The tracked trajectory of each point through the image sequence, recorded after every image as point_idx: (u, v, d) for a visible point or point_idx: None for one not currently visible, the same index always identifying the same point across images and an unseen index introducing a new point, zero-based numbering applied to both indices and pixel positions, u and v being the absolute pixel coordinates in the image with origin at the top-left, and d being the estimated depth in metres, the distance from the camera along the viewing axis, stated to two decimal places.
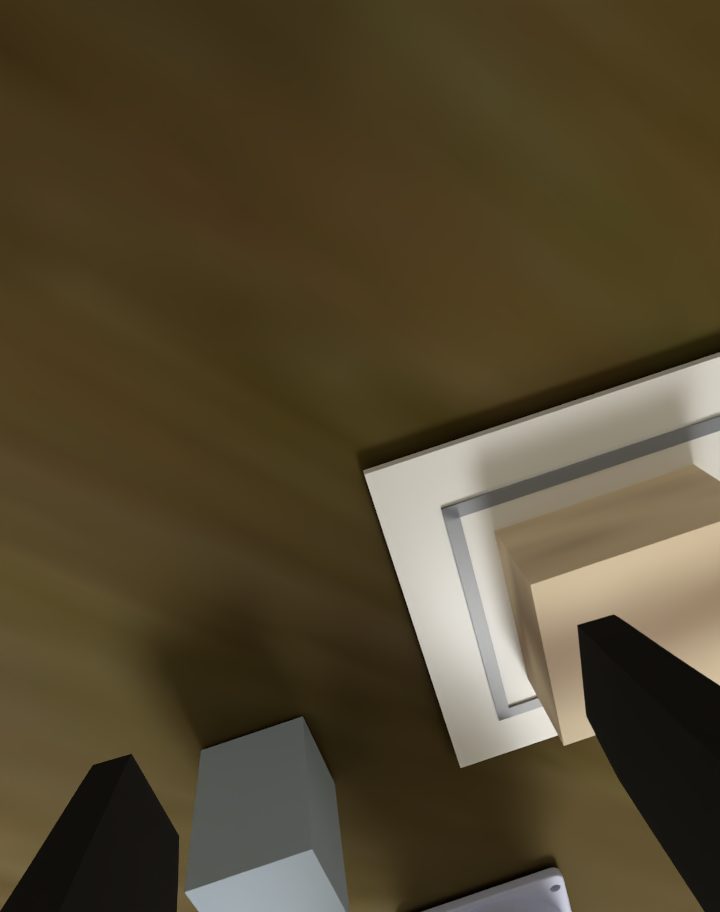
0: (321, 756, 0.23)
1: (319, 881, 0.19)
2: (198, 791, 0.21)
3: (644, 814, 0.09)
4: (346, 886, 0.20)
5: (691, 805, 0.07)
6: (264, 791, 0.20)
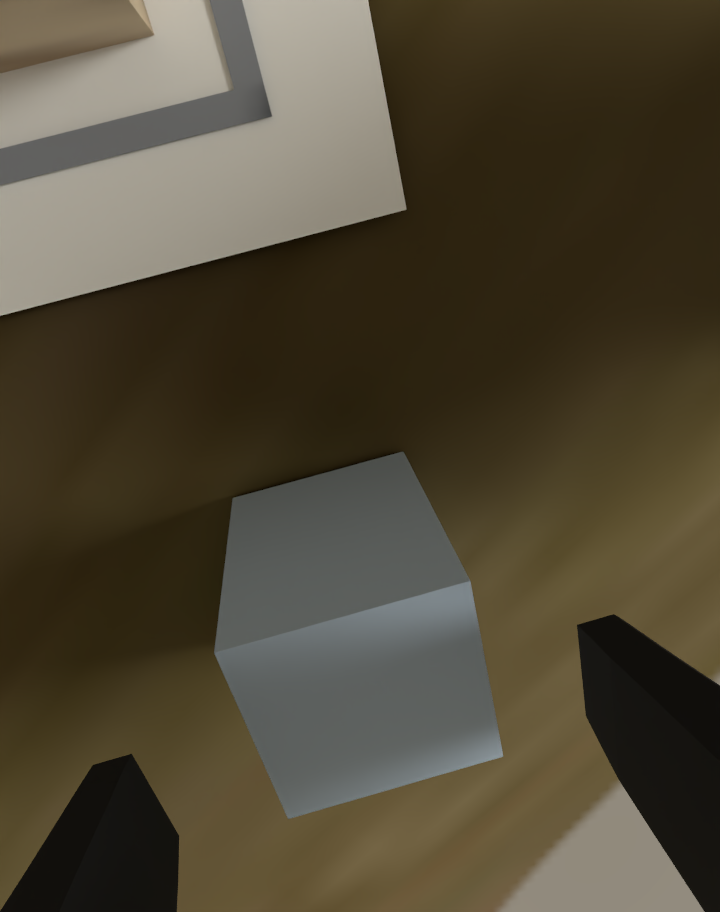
0: (331, 471, 0.14)
1: (320, 638, 0.09)
2: None
3: (644, 813, 0.09)
4: (448, 545, 0.10)
5: (691, 805, 0.07)
6: None
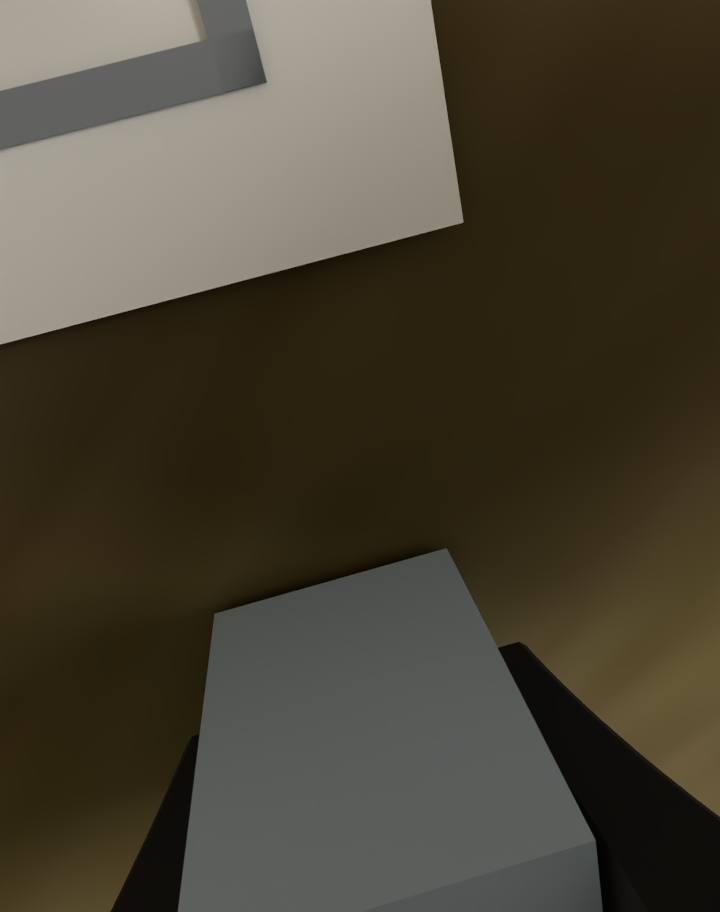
0: (349, 576, 0.10)
1: None
2: None
3: None
4: (542, 748, 0.06)
5: None
6: None
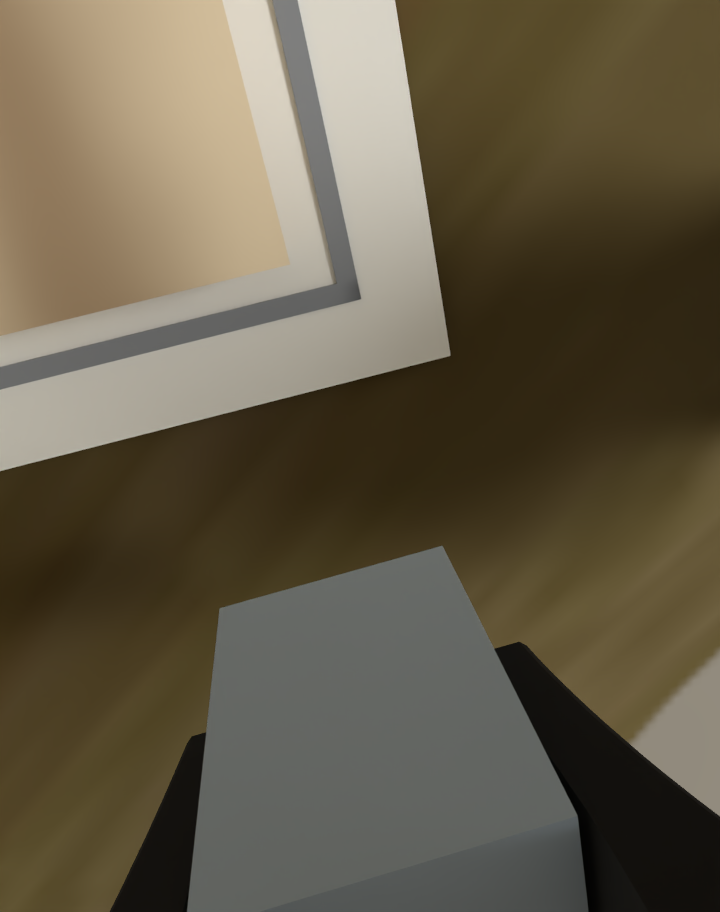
0: (348, 572, 0.10)
1: (347, 903, 0.06)
2: None
3: None
4: (530, 732, 0.07)
5: None
6: None
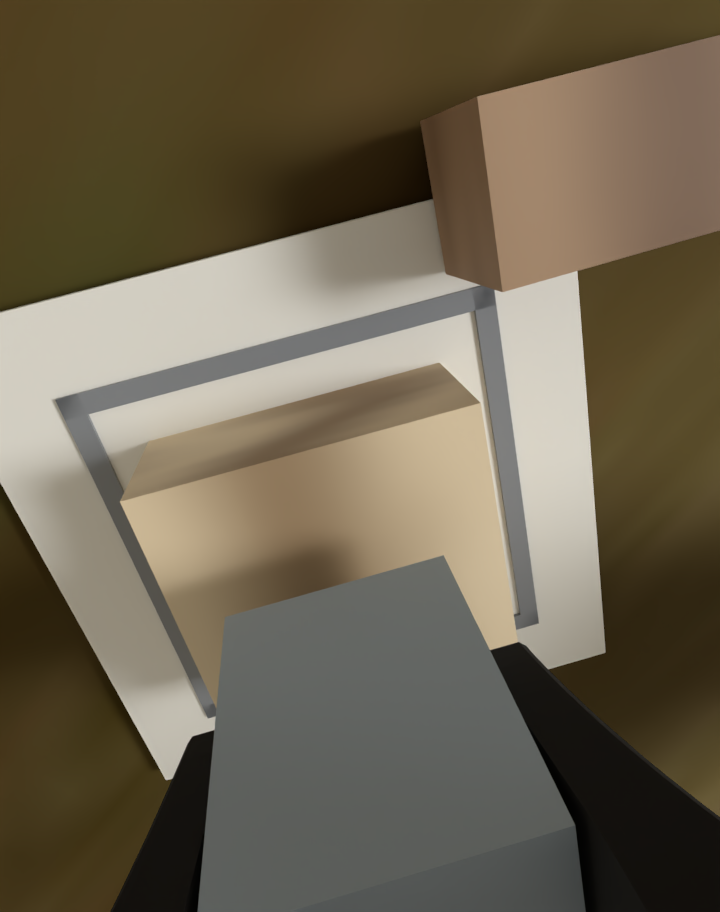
0: (351, 581, 0.11)
1: (353, 910, 0.06)
2: None
3: None
4: (529, 742, 0.07)
5: None
6: None
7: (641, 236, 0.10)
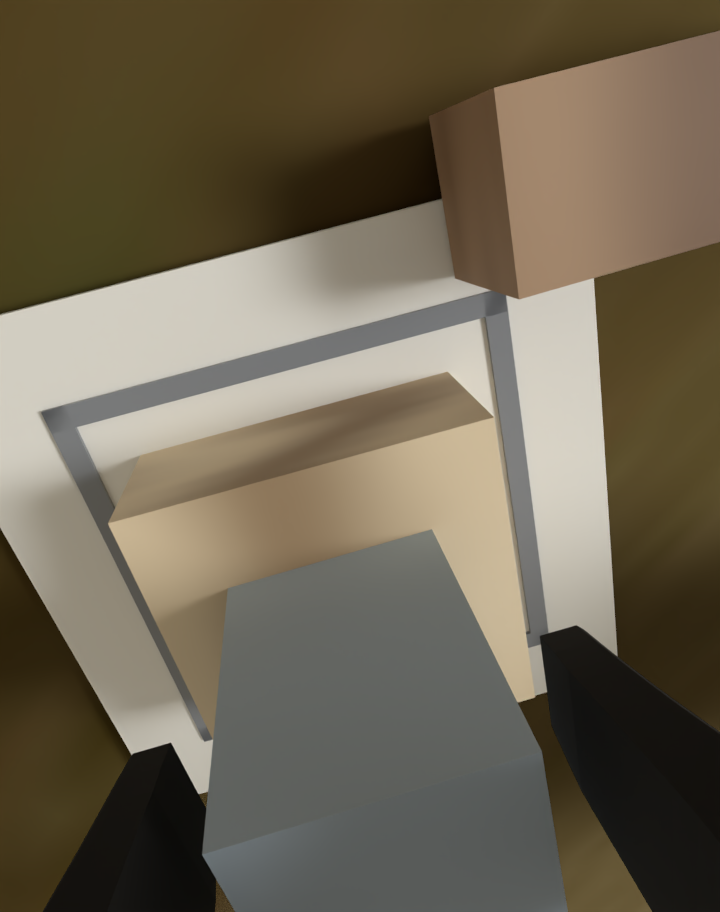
0: (346, 554, 0.11)
1: (343, 829, 0.07)
2: None
3: (606, 826, 0.09)
4: (504, 685, 0.08)
5: (644, 819, 0.07)
6: None
7: (668, 239, 0.10)
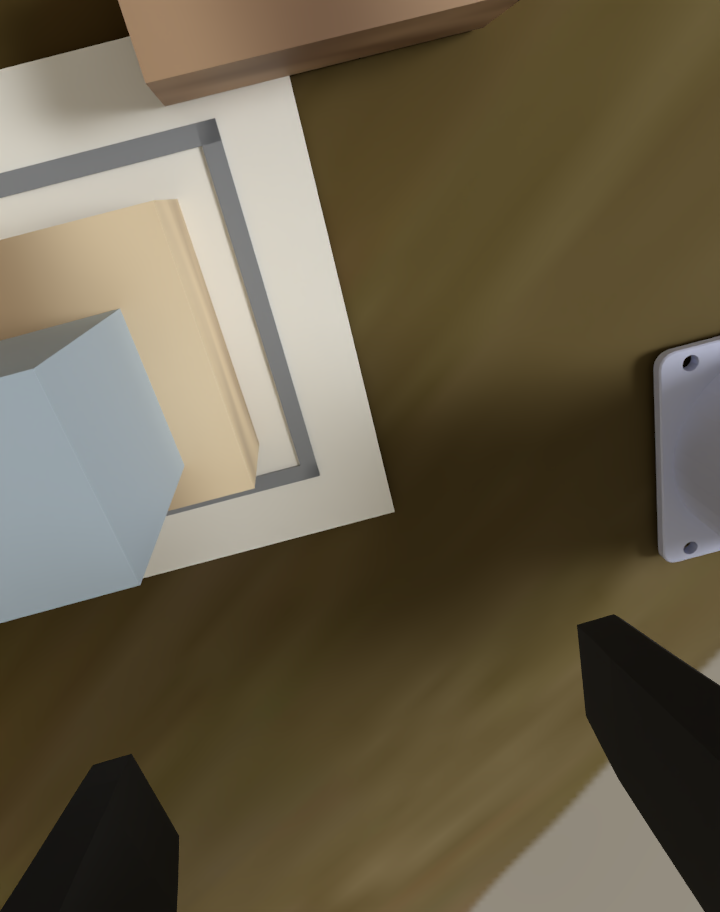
0: (46, 328, 0.13)
1: None
2: None
3: (645, 814, 0.09)
4: (54, 352, 0.10)
5: (691, 805, 0.07)
6: None
7: (274, 34, 0.12)
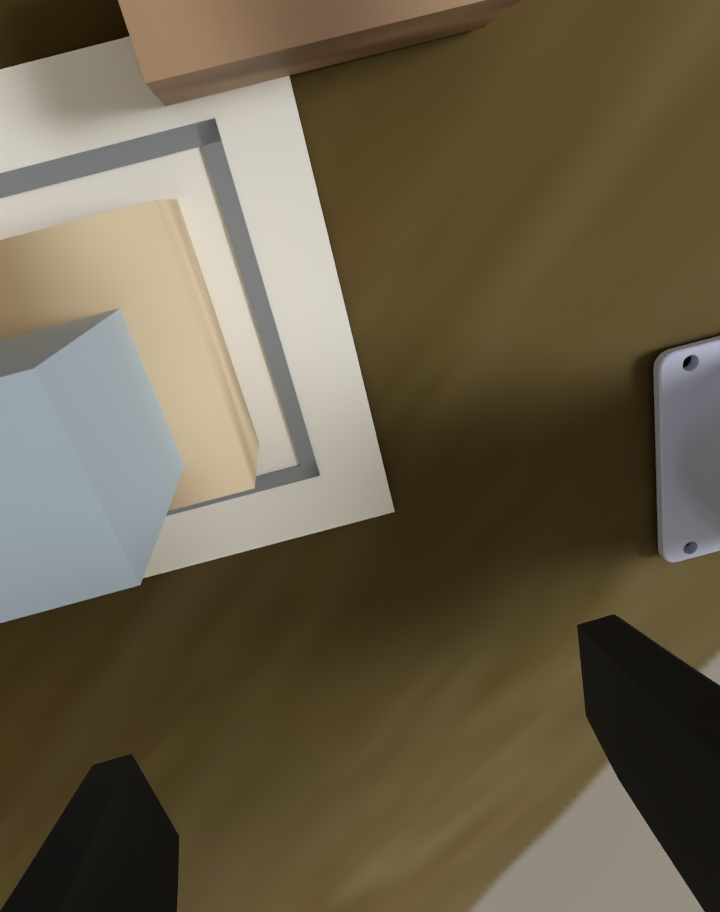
0: (46, 328, 0.13)
1: None
2: None
3: (645, 814, 0.09)
4: (54, 352, 0.10)
5: (691, 805, 0.07)
6: None
7: (274, 34, 0.12)
